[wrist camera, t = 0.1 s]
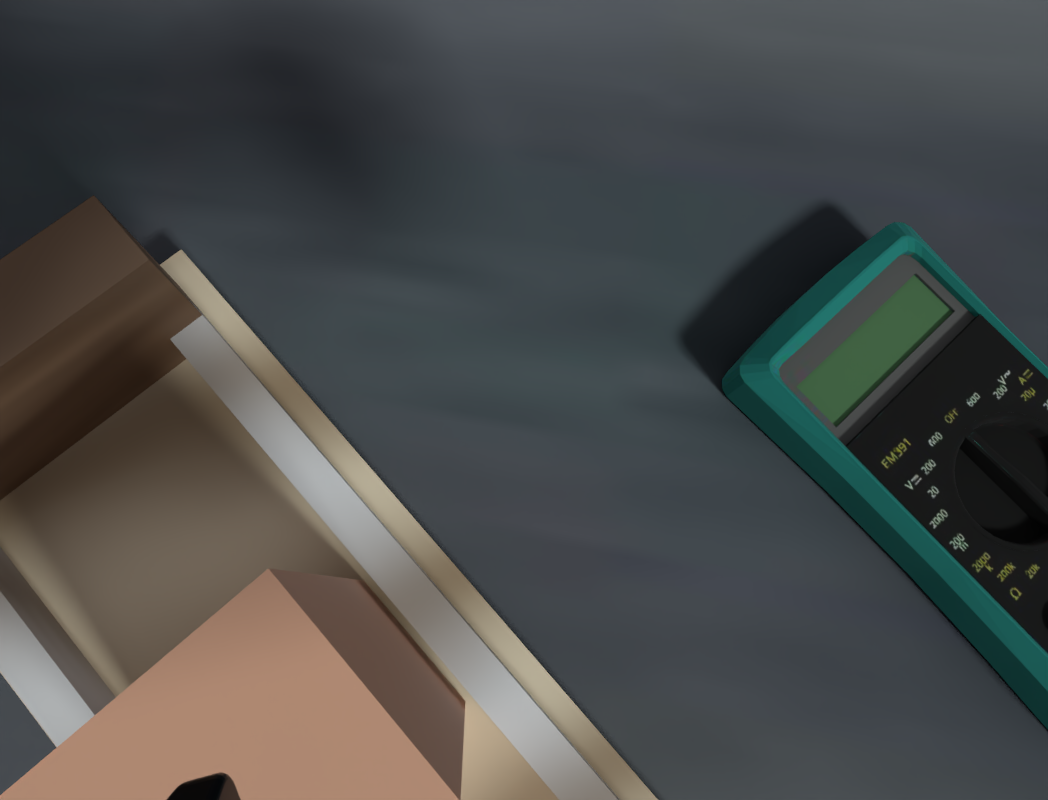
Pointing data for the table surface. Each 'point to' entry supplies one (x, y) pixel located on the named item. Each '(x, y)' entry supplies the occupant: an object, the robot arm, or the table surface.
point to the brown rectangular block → (274, 708)
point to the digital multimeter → (921, 436)
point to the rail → (216, 509)
